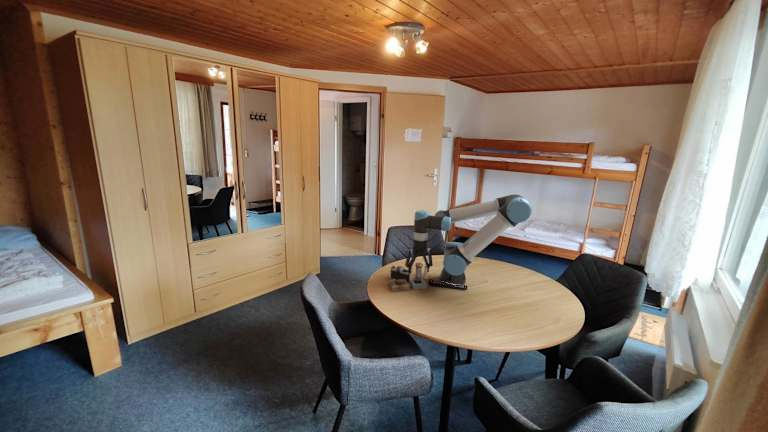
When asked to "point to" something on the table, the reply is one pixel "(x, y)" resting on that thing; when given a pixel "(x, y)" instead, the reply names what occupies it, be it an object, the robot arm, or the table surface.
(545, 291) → the table surface
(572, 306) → the table surface
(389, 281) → the dock block
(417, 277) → the lock pin
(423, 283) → the plate
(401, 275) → the camera
